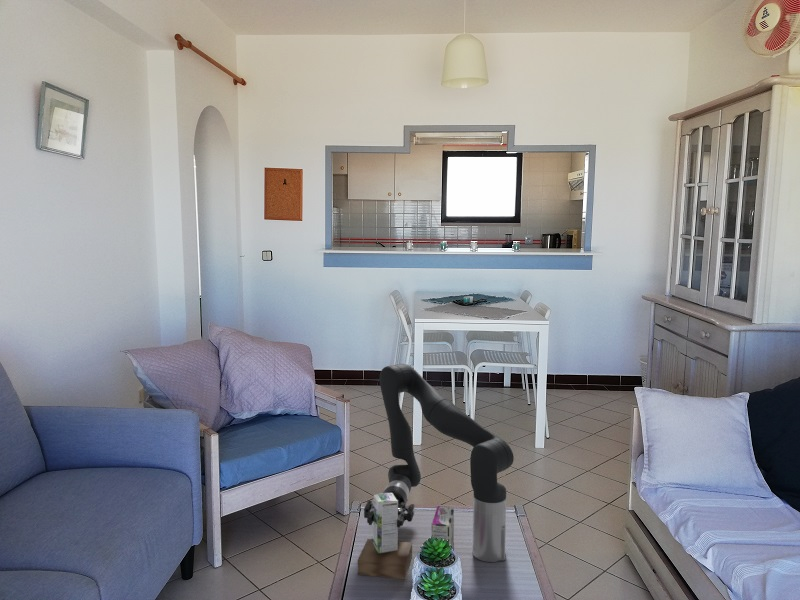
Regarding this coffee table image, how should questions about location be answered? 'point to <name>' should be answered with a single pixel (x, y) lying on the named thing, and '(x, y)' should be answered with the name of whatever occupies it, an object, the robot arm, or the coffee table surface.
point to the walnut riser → (385, 561)
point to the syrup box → (385, 522)
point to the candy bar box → (444, 524)
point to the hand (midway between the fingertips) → (384, 523)
